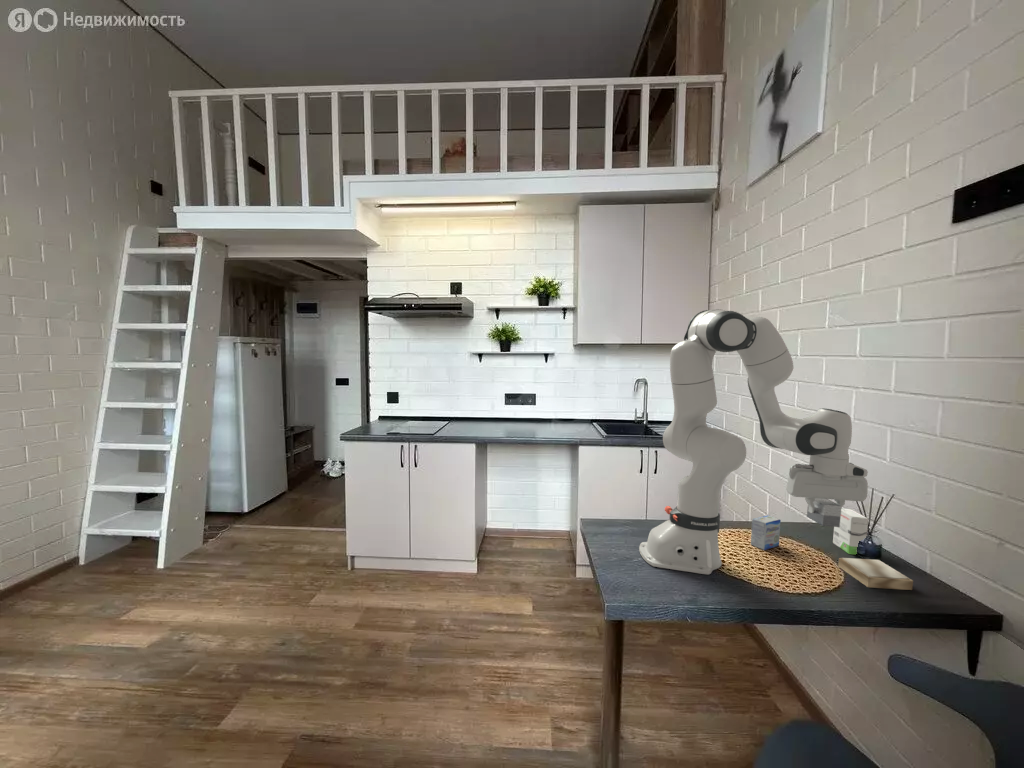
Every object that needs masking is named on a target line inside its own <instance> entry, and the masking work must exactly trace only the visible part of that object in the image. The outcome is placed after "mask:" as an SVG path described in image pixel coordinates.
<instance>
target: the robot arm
mask: <svg viewBox="0 0 1024 768" xmlns="http://www.w3.org/2000/svg"><path fill="white" fill-rule="evenodd" d="M684 334H685V335H684V338H683V340H681V341H679V342H678V343H676V344H675V345H674V346H672V348H671V350H670V356H669V357H670V359H669V370H670V371H669V373H670V381H671V389H672V395H673V405H674V410H673V415H672V416H673V417H672V421H671V422H670V424H669V425H668V426H667V427H666V428H665V429H664V431H663V435H662V444H663V447H664V448H665V450H666V451H668V452H670V453H671V454H672V455H674V456H675V457H677V458H679V459H682V460H685V461H688V462H690V463H691V462H692V469H691V471H690V474H689V475H687V476H684V477H683V478H681V479H680V480H679V482H678V485H677V501H676V503H677V504H676V507H674V508H672V507H671V506H669V505H666V506H665V507H664V511H665V513H666V514H668V515H669V519H668V520H667V519H666V520H665V521H663V522H662V523H660V524H659V525H656V526H654V527H653V528H651V530H650V531H649V534H648V538H647V540H646V541H642V542H641V543H640V544H639V547H638V550H639V553H640V556H641V557H642V558H643V560H644V561H645V562H646V563H647V564H649V565H650V566H651V567H654V568H655V567H657V568H660V569H667V570H669V569H670V570H675V571H682V572H689V573H695V574H700V575H701V574H702V575H710V574H712V573H713V571H715V570H718V569H719V568H721V566H722V565H723V564H722V563H723V562H722V559H721V556H720V549H719V547H720V546H719V533H720V528H721V527H720V526H721V515H720V513H719V510H720V501H721V492H722V487H723V484H724V483H725V481H726V478H727V477H728V476H729V475H730V474H731V473H733V472H734V471H736V470H738V469H740V468H741V466H742V465H743V464H744V462H745V461H746V458H747V447H746V444H745V442H744V440H743V439H742V438H740V437H739V436H737V435H735V434H733V433H732V432H729V431H727V430H723V429H719V428H715V427H710V426H708V425H707V416H708V414H709V413H711V412H712V411H713V410H714V409H715V408H716V406H717V404H718V400H717V399H718V396H717V392H716V383H715V375H714V370H713V369H714V368H713V361H714V357H715V355H716V353H717V352H719V353H720V352H721V353H732V352H736V353H737V354H738V355H739V357H740V360H741V362H742V364H743V366H744V368H745V370H746V373H747V386H748V387H747V388H748V389H749V393H750V395H751V399H752V401H753V406H754V408H755V411H756V414H757V416H758V419H759V420H758V421H759V430H760V436H761V439H762V441H763V442H764V443H765V444H766V445H767V446H769V447H771V448H775V449H780V450H786V451H789V452H792V453H796V454H800V455H804V456H809V464H803V463H802V464H800V463H795V464H794V465H791V467H789V473H788V477H787V478H788V479H787V481H786V487H785V488H786V489H785V490H786V492H787V493H788V494H789V495H790V496H793V497H795V498H804V500H805V501H806V503H807V506H808V505H809V508H808V507H807V509H808V511H809V512H810V513H817V510H818V508H817V507H815V506H814V504H813V502H815V498H819V499H828V500H834V502H835V503H837V504H839V505H841V506H842V508H843V507H844V505H845V503H846V501H847V502H848V501H849V502H851V501H852V502H863V503H864V501H866V499H867V497H868V491H869V490H868V489H869V487H868V486H869V485H868V480H867V478H866V477H867V476H868V473H869V471H868V469H865V468H863V467H861V466H858V465H856V464H854V463H852V462H850V455H849V449H850V447H851V444H852V437H853V436H852V435H853V433H852V432H853V424H852V419H851V416H850V414H848V413H846V412H844V411H841V410H835V409H831V408H819V409H817V411H816V412H815V413H813V414H812V415H810V416H808V417H804V418H797V417H790V416H789V415H787V414H786V413H784V412H783V411H782V410H781V407H780V404H779V400H778V398H777V395H776V392H775V387H778V386H779V385H781V384H783V383H784V382H786V381H787V380H788V379H789V378H790V376H791V375H792V373H793V371H794V362H793V358H792V356H791V353H790V351H789V349H788V347H787V344H786V343H785V341H784V339H783V337H782V335H781V334H780V332H779V331H778V330H777V328H776V327H775V325H774V323H772V322H771V320H769V319H768V318H766V317H763V316H754V317H750V318H747V317H746V316H744V315H743V314H741V313H739V312H737V311H734V310H726V309H719V308H716V309H708V310H707V309H706V310H702V311H700V312H698V313H696V314H695V315H693V316H692V318H691V319H690V320H689V322H688V325H687V329H686V331H685V333H684Z"/></svg>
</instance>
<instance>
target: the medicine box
mask: <svg viewBox="0 0 1024 768" xmlns="http://www.w3.org/2000/svg"><path fill="white" fill-rule="evenodd" d="M751 520H752V521H751V535H750V536H751V537H750V545H751V546H752V547H756V548H758V549H760V550H762V551H766V550H769V549H772V548H775V547H779V546H780V533H781V532H780V531H781V520H782V519H779V518H777V517H774V516H771V515H764V516H759V517H756V518H752V519H751Z"/></svg>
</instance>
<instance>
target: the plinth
mask: <svg viewBox="0 0 1024 768" xmlns="http://www.w3.org/2000/svg"><path fill="white" fill-rule="evenodd" d="M837 565H838V566H837V567H838V568H840V569H842V570H843V571H844V572H845V573H847V574H848V575H850V576H851V577H852V578H854V579H855V580H857V581H859V583H861V584H863V585H864V586H866V588H873V589H874V588H875V589H887V590H888V589H892V590H907V591H908V590H909V591H912V590H913V586H914V580H913V579H911V578H909V577H908V576H906V575H905V574H903V573H901V572H900V571H898V570H896V569H895V568H893V567H892V566H889V564H886V563H885V562H883V561H881V560H880V559H869V558H851V557H839V558H838V563H837Z"/></svg>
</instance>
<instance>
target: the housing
mask: <svg viewBox="0 0 1024 768" xmlns="http://www.w3.org/2000/svg"><path fill="white" fill-rule="evenodd" d="M813 504H814V506H815V507H817V508H818V510H817V513H810V512H809V511H808V508H809V505H808V504H807V510H806V518H809V519H810V520H812V521H814V522H815V523H817V524H819V525H820V526H822V527H833V528H834V527H839V526H840V517H841V508H843V507H842V506H841V505H839V504H837V503H836V502H835V501H832V500H831V499H819V498H815V502H813Z"/></svg>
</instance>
